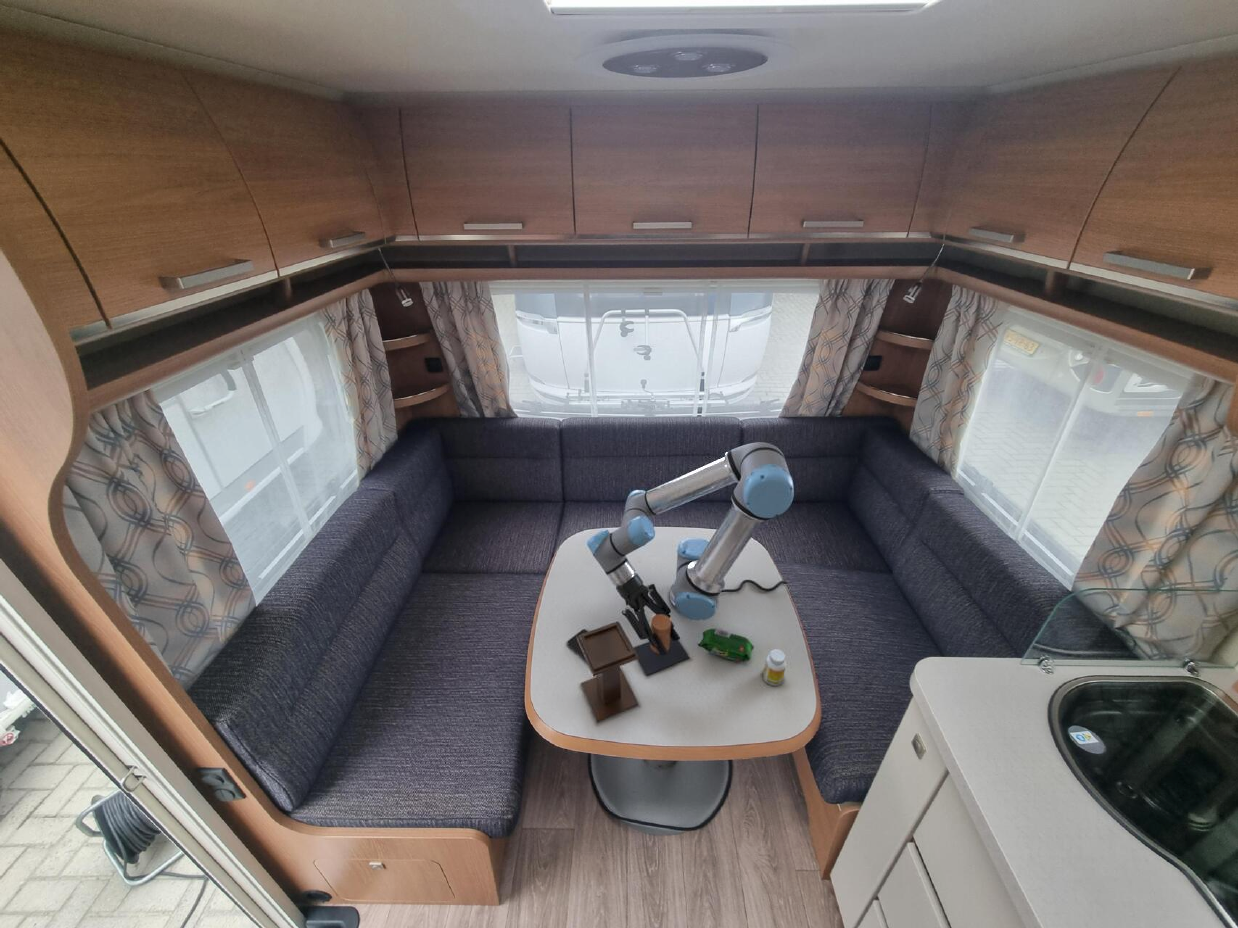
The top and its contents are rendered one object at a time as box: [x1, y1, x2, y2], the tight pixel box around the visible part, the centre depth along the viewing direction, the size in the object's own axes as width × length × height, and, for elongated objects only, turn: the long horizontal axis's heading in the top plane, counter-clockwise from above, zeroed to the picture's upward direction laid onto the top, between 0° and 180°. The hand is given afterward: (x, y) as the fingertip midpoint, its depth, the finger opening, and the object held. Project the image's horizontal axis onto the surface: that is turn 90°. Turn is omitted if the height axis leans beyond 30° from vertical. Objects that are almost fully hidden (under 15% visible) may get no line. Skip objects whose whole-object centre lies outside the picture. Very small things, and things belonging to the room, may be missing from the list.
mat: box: [633, 637, 690, 677], centre depth 144 cm, size 14×10×1 cm
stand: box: [577, 620, 639, 724], centre depth 128 cm, size 12×12×21 cm
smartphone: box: [566, 628, 590, 663], centre depth 145 cm, size 8×1×16 cm
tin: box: [650, 614, 672, 653], centre depth 140 cm, size 6×6×10 cm
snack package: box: [696, 628, 755, 663], centre depth 144 cm, size 7×16×5 cm, turn 69°
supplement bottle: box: [762, 648, 787, 686], centre depth 135 cm, size 5×5×10 cm
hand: (670, 646), depth 140 cm, fingers closed on tin, 6 cm apart
